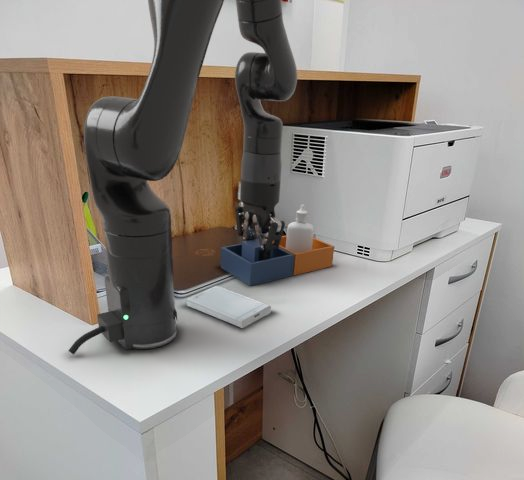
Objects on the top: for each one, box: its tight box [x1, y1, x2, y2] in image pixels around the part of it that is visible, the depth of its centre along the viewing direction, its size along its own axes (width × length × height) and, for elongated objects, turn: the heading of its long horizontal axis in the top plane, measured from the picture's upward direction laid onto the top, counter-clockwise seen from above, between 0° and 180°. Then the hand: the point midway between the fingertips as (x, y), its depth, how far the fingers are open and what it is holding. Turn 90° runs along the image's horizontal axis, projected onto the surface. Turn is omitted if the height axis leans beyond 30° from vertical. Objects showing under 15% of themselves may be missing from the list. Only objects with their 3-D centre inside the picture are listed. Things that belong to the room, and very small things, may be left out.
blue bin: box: [220, 239, 294, 287], centre depth 101 cm, size 11×11×4 cm
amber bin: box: [264, 234, 335, 276], centre depth 107 cm, size 11×11×4 cm
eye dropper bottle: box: [286, 204, 315, 253], centre depth 105 cm, size 4×6×12 cm
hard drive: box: [186, 285, 272, 329], centre depth 86 cm, size 2×8×12 cm
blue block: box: [241, 238, 273, 263], centre depth 101 cm, size 4×4×4 cm
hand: (256, 262), depth 101 cm, fingers closed on blue block, 4 cm apart
